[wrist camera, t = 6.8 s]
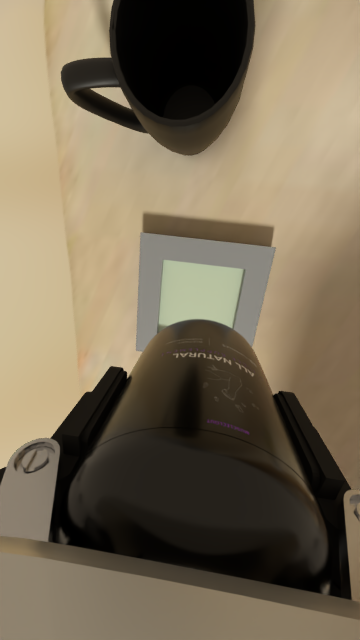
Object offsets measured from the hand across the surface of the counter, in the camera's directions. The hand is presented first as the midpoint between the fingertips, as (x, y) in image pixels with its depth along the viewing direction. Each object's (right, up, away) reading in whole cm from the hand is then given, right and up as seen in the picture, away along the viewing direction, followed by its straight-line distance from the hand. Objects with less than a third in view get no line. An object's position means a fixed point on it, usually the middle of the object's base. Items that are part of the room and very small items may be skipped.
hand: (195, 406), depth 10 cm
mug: (-2, +23, +11) cm, 26 cm away
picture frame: (+1, +6, +17) cm, 18 cm away
